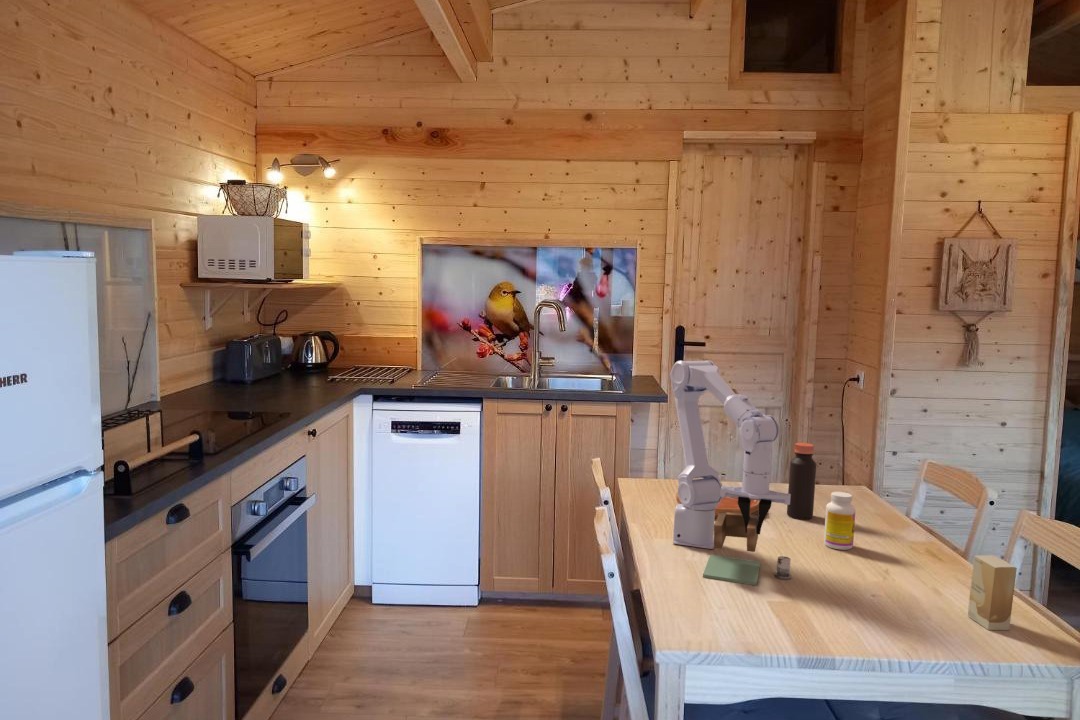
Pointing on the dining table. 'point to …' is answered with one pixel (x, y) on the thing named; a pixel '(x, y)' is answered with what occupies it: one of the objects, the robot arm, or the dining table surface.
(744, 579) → the green rubber mat
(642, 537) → the dining table surface
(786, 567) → the metal door knob
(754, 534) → the walnut C-link
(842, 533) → the supplement bottle
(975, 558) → the skincare box
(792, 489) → the vinegar
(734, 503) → the saucer
